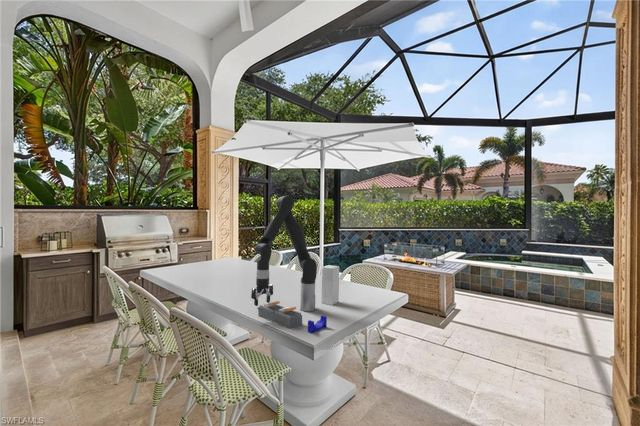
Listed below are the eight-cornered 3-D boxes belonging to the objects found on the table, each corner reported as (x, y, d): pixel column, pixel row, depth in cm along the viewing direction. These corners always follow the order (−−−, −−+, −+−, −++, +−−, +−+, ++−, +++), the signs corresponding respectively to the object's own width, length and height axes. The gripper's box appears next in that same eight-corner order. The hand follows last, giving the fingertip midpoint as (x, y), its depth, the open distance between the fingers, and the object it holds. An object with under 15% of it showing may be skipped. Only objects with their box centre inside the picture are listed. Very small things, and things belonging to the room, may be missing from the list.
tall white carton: (321, 302, 209) (322, 266, 209) (328, 299, 216) (328, 264, 216) (332, 305, 204) (333, 268, 204) (338, 302, 212) (339, 266, 211)
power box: (252, 313, 186) (252, 303, 186) (264, 309, 192) (264, 300, 192) (290, 328, 163) (290, 317, 163) (302, 324, 170) (302, 313, 170)
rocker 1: (263, 305, 181) (263, 303, 182) (270, 304, 185) (270, 302, 185) (273, 305, 176) (273, 302, 176) (279, 303, 179) (279, 301, 179)
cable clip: (320, 325, 169) (320, 314, 169) (326, 327, 166) (326, 316, 166) (305, 331, 160) (305, 320, 160) (311, 333, 157) (312, 322, 157)
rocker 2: (279, 311, 172) (278, 309, 172) (285, 309, 176) (285, 307, 176) (289, 311, 166) (289, 308, 166) (296, 308, 170) (296, 306, 170)
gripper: (268, 274, 188) (267, 300, 188) (249, 277, 177) (248, 305, 177) (276, 276, 183) (275, 302, 183) (256, 279, 172) (256, 308, 172)
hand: (262, 304), depth 180 cm, fingers open, 8 cm apart
